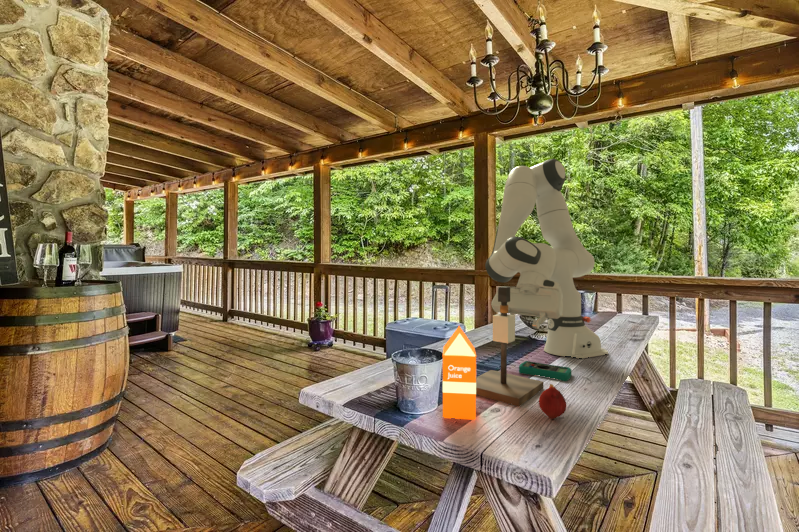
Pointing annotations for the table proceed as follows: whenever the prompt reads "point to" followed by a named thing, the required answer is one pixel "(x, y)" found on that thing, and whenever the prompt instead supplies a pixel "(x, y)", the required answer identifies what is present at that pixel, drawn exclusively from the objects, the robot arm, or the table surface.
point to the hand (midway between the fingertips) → (518, 325)
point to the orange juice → (459, 377)
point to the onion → (552, 402)
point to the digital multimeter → (545, 370)
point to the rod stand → (502, 383)
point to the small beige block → (504, 328)
